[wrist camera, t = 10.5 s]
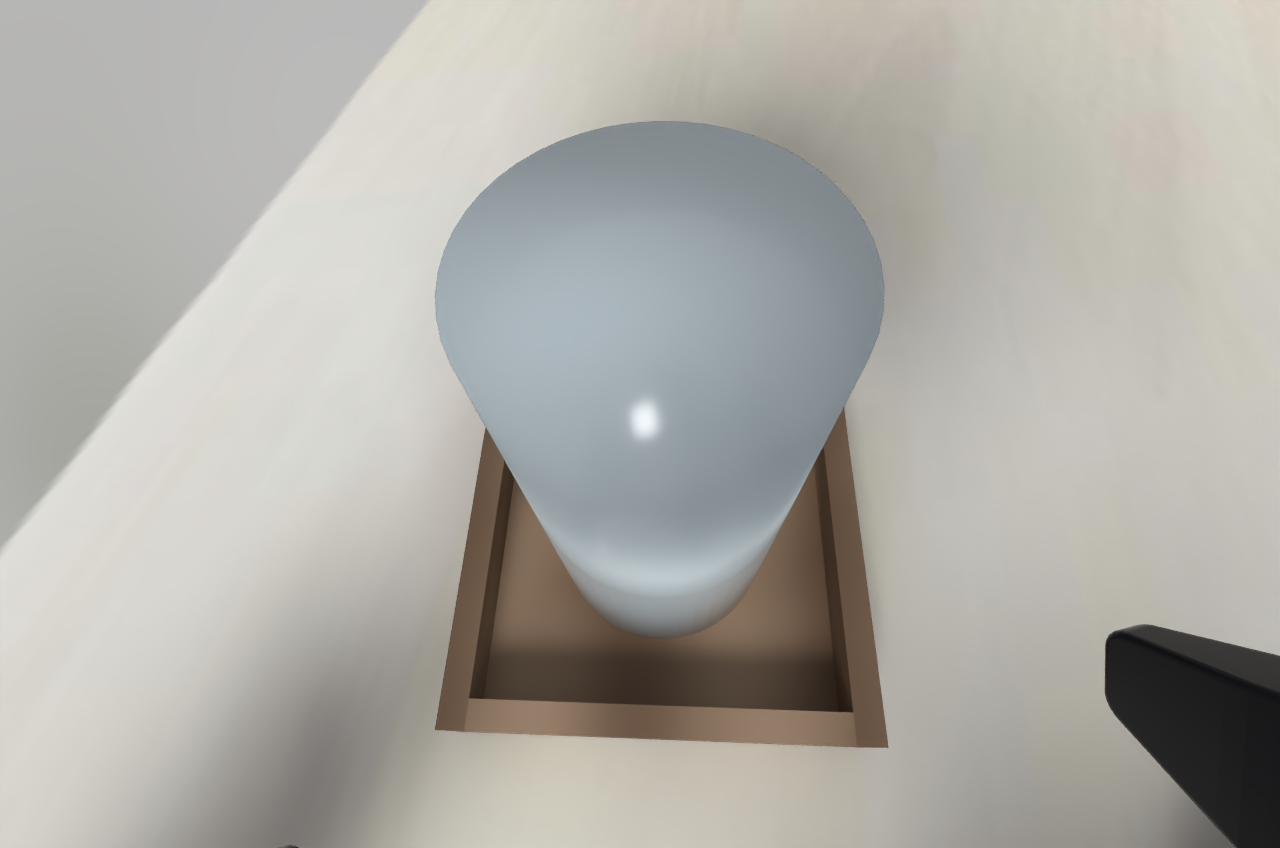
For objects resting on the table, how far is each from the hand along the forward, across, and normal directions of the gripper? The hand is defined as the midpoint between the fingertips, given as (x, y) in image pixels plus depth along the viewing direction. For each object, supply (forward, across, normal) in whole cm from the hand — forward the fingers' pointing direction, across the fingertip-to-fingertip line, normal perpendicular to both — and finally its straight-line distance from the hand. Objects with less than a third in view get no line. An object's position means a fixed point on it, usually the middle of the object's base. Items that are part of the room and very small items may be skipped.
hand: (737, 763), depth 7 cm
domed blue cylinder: (+13, -1, +3) cm, 14 cm away
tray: (+14, -1, +4) cm, 15 cm away
